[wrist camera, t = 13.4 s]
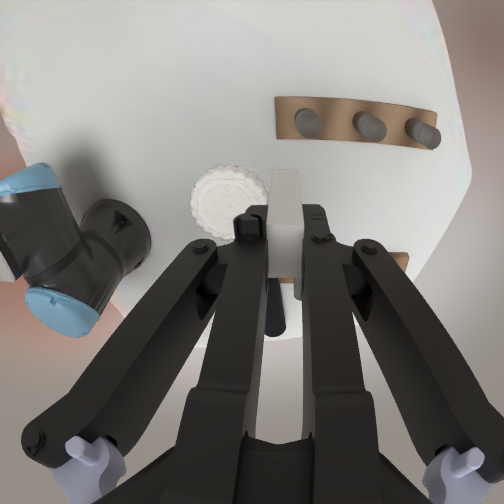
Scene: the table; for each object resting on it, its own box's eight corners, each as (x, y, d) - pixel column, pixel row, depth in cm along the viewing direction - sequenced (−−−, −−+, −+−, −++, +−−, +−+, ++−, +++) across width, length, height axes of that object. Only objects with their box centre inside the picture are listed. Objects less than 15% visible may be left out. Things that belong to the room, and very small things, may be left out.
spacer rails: (279, 277, 53) (278, 306, 47) (275, 96, 35) (273, 101, 28) (399, 277, 50) (410, 304, 44) (432, 111, 32) (458, 121, 26)
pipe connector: (231, 339, 58) (211, 287, 49) (234, 320, 62) (216, 268, 54) (286, 336, 56) (277, 282, 47) (286, 317, 60) (277, 263, 52)
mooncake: (180, 186, 44) (172, 195, 41) (242, 149, 40) (239, 156, 37) (221, 241, 50) (217, 253, 47) (281, 212, 45) (281, 223, 42)
